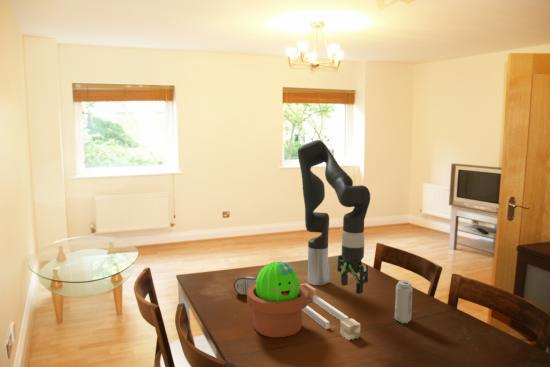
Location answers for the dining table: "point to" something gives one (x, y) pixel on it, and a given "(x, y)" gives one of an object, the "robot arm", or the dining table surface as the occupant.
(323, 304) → the rail channel
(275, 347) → the dining table surface
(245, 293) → the tin
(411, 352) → the dining table surface
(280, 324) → the potted cactus
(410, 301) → the energy drink can
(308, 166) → the robot arm
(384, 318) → the dining table surface
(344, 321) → the block
